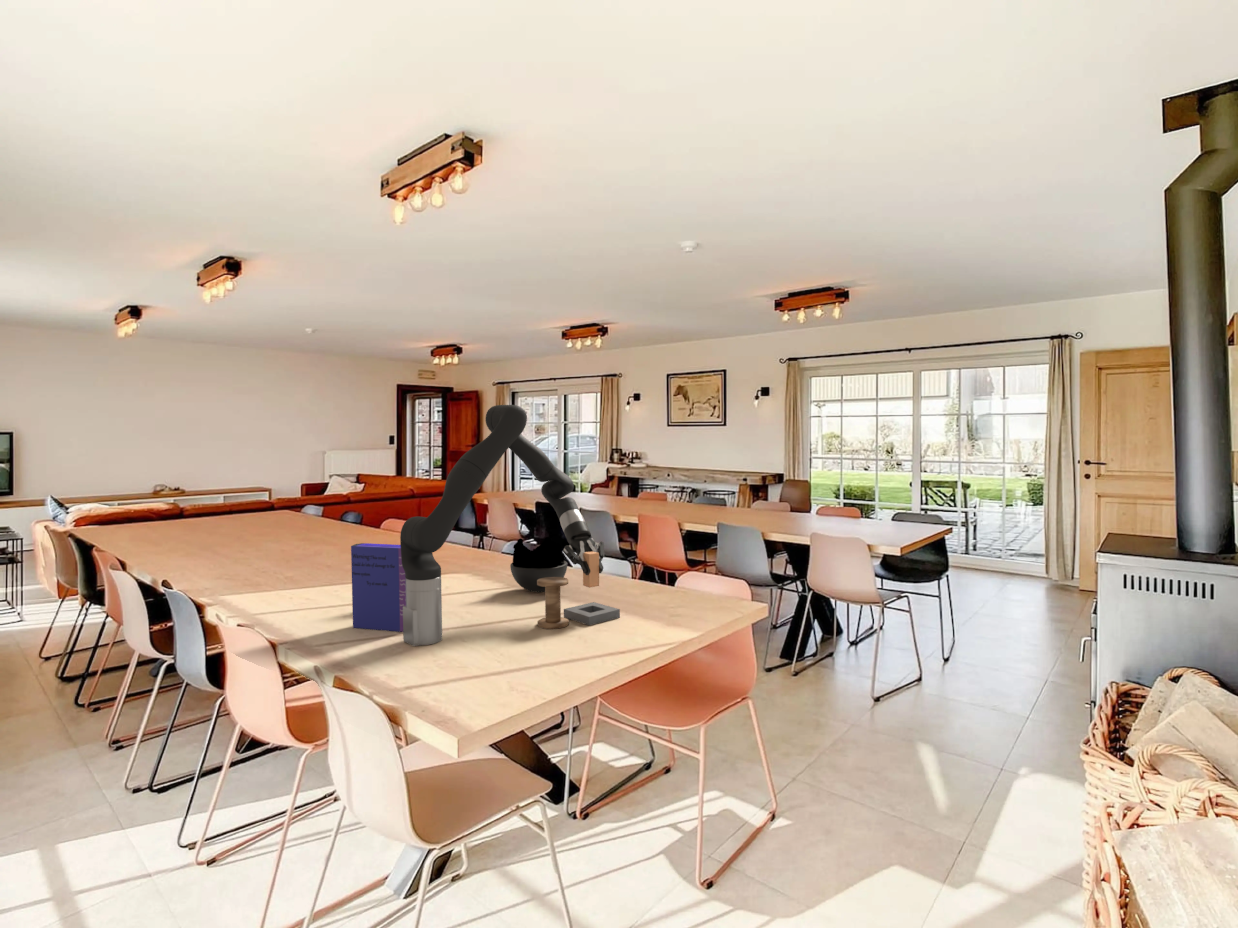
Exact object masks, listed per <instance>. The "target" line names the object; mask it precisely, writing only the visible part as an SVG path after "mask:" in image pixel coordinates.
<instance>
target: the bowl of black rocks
mask: <svg viewBox="0 0 1238 928" xmlns="http://www.w3.org/2000/svg"><path fill="white" fill-rule="evenodd" d="M512 548H513V549H514V550H513V554H512V555H513V556H512V562H511V563H510V567H509V569H510V573H511V574H512V577H513V579H514V581H515V582H516V583H517V584H518V585H519V587H521V588H523V589H524V590H526V591H528V592H533V593H545V587H542V586H538V585H537V580H538V579H541V578H545V577H563V578H565V575H566V573H567V570H568V562H567V561H566V560H565V556H564V554H563V553H562V551H561V550H562V547H561V545H560V544H559V543H556V542H554V541H552V540H551V539H550V538H549V537H545V538H544V540H543V541H542V542H541V544H539V545H538V546H537V547H535V548H534V549H531V550H530V549H529V548H528V547H527V546H526V545H524V539H522V538H519V539H517V542H516V543H514V545H513V547H512Z"/></svg>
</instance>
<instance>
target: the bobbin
mask: <svg viewBox="0 0 1238 928" xmlns="http://www.w3.org/2000/svg"><path fill="white" fill-rule="evenodd" d="M537 585H538V586H542V587H545V592H544V603H545V604H544V605H545V606H544V607H545V608H544V609H545V610H544V611H545V612H544V614H545V615H544V617H543V618H540V619H538V620H537V627H538V628H539V629H543V630H544V629H546V630H557V629H563V628H566V627H568V626H569V625H570V624H569V620H570V619H568V618H565V617H564V616H563V617H561V616H562V615H561V614H562V613H561V608H562V607H561V606H562V605H561V587H564V586H568V585H569V579H568V578H566V577H564V578H563V577H545V578H541V579H538V580H537Z"/></svg>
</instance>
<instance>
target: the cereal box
mask: <svg viewBox="0 0 1238 928" xmlns="http://www.w3.org/2000/svg"><path fill="white" fill-rule="evenodd" d="M350 551H351V552H350V556H351V557H350V560H351V596H352V598H351V601H352V605H351V606H352V607H351V608H352V629H357V630H369V631H370V630H371V631H382V632H391V633H392V632H394V633H403V606H406V586H405V571H404V569H403V566H402V560H401V545H400V544H388V543H370V542H369V543H366V542H365V543H364V542H361V543H360V542H359V543H356V544H353V545H351V546H350Z"/></svg>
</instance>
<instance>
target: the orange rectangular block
mask: <svg viewBox="0 0 1238 928" xmlns="http://www.w3.org/2000/svg"><path fill="white" fill-rule="evenodd" d="M584 556H585V561H587V564H588V566H589V568H590V574H589V575H586V574H584V572H583V571H582V586H584V587H587V588H588V589H589V588H595V587H600V573H599V553H598V551H597V552H593V551H591V552H585V553H584Z"/></svg>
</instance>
